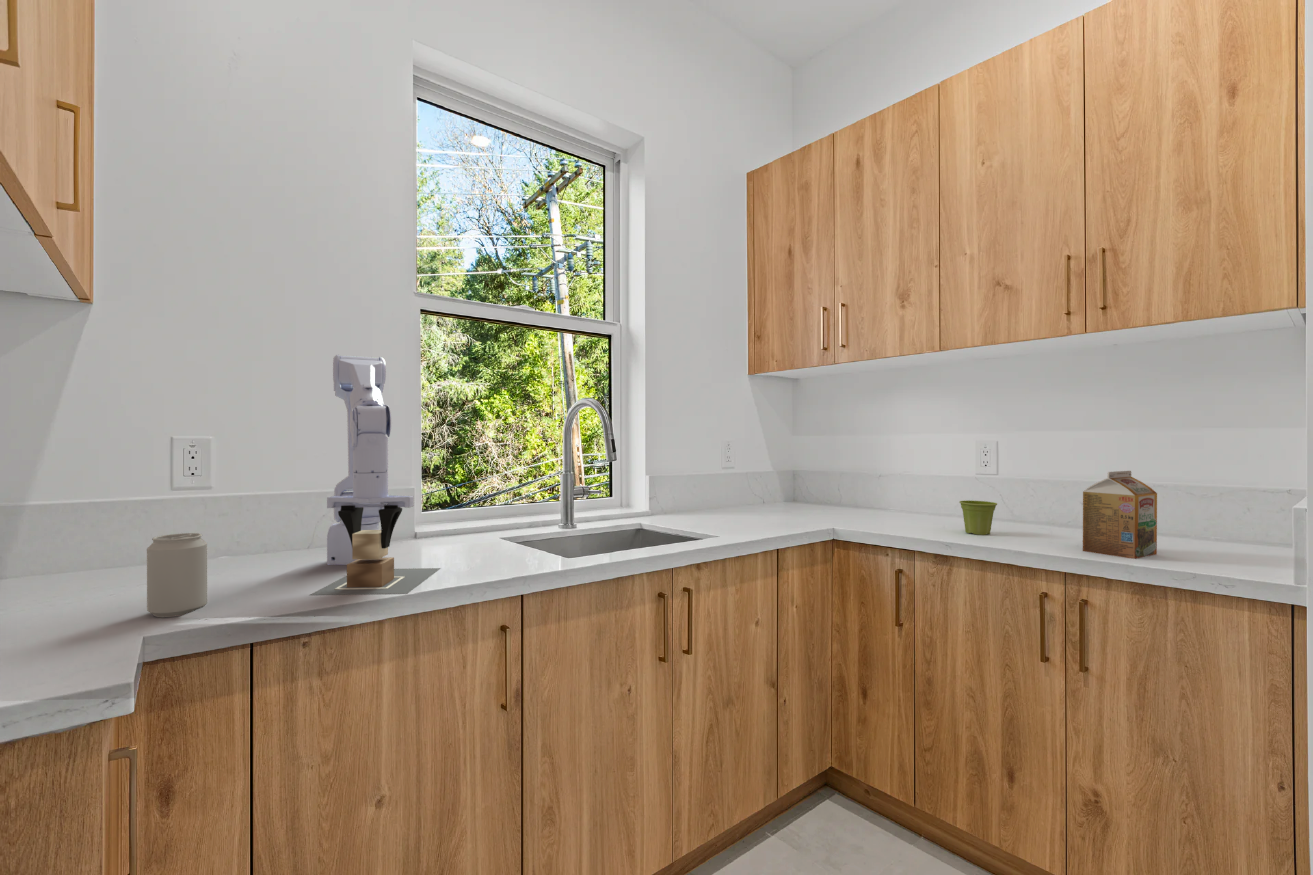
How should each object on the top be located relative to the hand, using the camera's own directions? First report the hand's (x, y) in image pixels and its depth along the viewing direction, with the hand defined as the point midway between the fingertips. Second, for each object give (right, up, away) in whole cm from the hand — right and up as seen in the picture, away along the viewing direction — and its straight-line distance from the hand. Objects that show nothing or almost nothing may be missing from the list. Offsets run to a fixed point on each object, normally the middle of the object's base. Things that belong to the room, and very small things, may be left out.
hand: (371, 547), depth 113 cm
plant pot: (+141, -7, +61) cm, 154 cm away
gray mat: (+1, -7, +2) cm, 8 cm away
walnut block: (0, -6, 0) cm, 6 cm away
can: (-23, -8, -15) cm, 29 cm away
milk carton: (+159, -7, +33) cm, 163 cm away
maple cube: (0, -2, 0) cm, 2 cm away
